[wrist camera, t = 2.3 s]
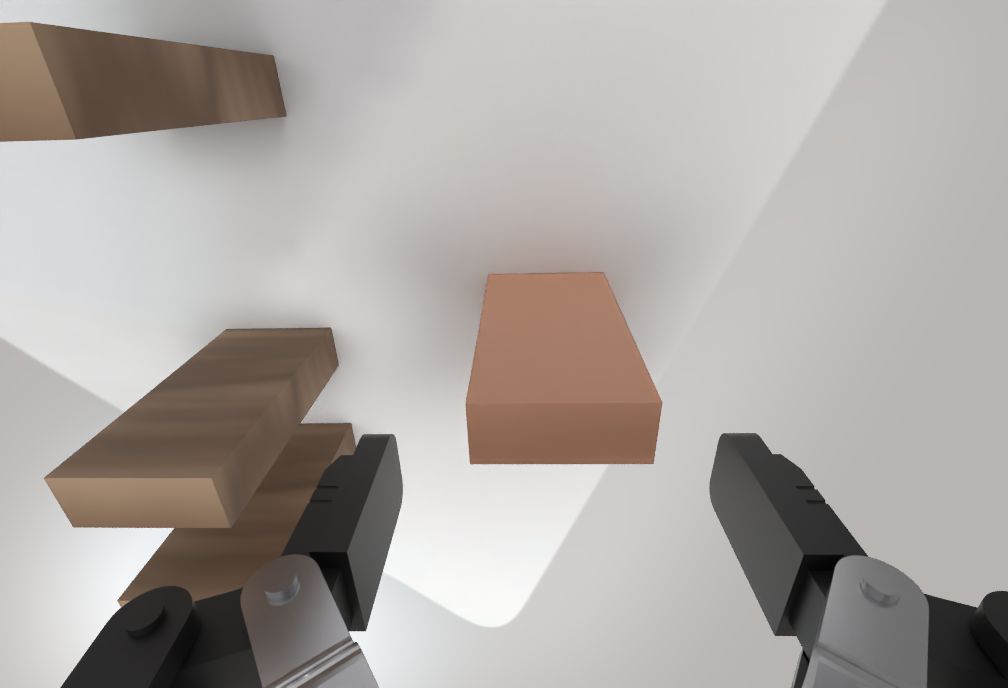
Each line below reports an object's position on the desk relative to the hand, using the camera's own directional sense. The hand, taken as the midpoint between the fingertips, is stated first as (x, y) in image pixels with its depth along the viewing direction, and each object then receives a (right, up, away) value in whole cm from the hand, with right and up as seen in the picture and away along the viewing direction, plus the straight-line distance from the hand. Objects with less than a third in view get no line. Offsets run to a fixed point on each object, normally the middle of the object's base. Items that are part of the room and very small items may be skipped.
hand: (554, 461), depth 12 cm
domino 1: (-12, +13, +6) cm, 19 cm away
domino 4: (+1, +5, +10) cm, 11 cm away
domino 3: (-12, -2, +14) cm, 18 cm away
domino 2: (-12, +3, +11) cm, 17 cm away
